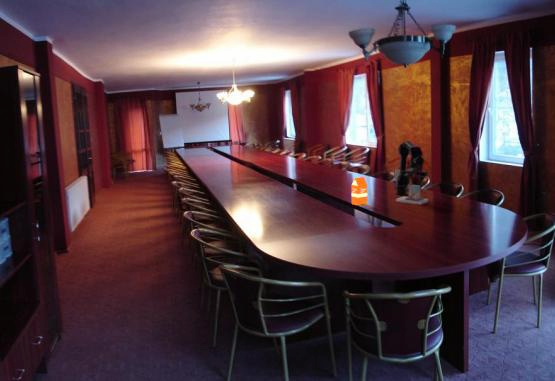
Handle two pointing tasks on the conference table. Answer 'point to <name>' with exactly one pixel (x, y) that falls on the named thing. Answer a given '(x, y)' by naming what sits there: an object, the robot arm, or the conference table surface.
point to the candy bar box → (396, 174)
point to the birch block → (414, 196)
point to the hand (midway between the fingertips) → (414, 184)
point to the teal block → (414, 189)
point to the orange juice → (359, 191)
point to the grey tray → (412, 200)
